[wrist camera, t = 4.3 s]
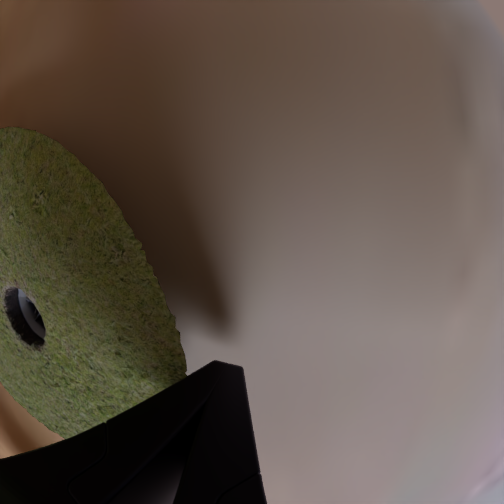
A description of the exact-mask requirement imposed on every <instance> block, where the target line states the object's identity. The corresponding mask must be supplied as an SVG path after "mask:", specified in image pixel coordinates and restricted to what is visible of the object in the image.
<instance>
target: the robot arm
mask: <svg viewBox="0 0 504 504" xmlns="http://www.w3.org/2000/svg"><path fill="white" fill-rule="evenodd" d="M0 504H267V501H266V496H265V492H264V487H263V482H262V476H261V474H260V466H259V461H258V455H257V449H256V443H255V437H254V431H253V425H252V419H251V413H250V407H249V401H248V395H247V389H246V382H245V376H244V369H243V367H241V366H238V365H233V364H229V363H225V362H221V361H217V360H214V361H212V362H210V363H208V364H207V365H205V366H203V367H202V368H200V369H198V370H197V371H195V372H193V373H192V374H190V375H188V376H187V377H185V378H183V379H181V380H180V381H178V382H176V383H175V384H173V385H171V386H169V387H168V388H166V389H164V390H162V391H160V392H159V393H157V394H155V395H153V396H151V397H150V398H148V399H146V400H144V401H142V402H141V403H139V404H137V405H135V406H133V407H131V408H129V409H127V410H126V411H124V412H122V413H120V414H118V415H116V416H114V417H112V418H110V419H108V420H107V421H106V423H105V422H102V423H100V424H98V425H96V426H94V427H92V428H90V429H88V430H86V431H84V432H81V433H79V434H77V435H75V436H72V437H70V438H67V439H65V440H62V441H59V442H56V443H54V444H51V445H48V446H45V447H41V448H38V449H35V450H32V451H28V452H25V453H21V454H18V455H14V456H10V457H7V458H2V459H0Z"/></svg>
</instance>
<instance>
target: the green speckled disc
mask: <svg viewBox="0 0 504 504" xmlns="http://www.w3.org/2000/svg"><path fill="white" fill-rule="evenodd" d="M141 247H142V243H141V242H140V241H138V240H137V239H136V238H135V237H134V233H133V231H132V229H131V227H130V226H129V225H128V223H127V222H126V221H125V219H124V217H123V214H122V211H121V210H120V208H119V207H118V205H117V204H116V202H115V201H114V199H113V198H112V197H110V196H109V194H108V193H107V191H106V189H105V187H104V185H103V183H102V182H101V181H100V180H98V179H97V178H96V177H95V175H94V174H93V173H91V172H90V171H89V170H88V168H87V167H86V166H84V165H83V164H81V163H80V161H79V160H78V159H77V158H76V156H75V155H74V154H72V153H71V152H69V151H67V150H66V149H65V148H64V147H63V146H62V145H61V144H60V143H59V142H57V141H55V140H54V139H52V138H49V137H47V136H45V135H43V134H41V133H37V132H36V130H29V129H23V128H20V127H5V129H4V128H2V129H0V382H1V383H2V384H3V386H4V388H5V389H6V390H7V391H8V392H9V394H10V395H11V396H13V398H14V400H16V401H17V402H18V403H19V404H20V405H21V406H23V407H24V408H26V409H27V411H28V412H29V413H30V414H31V415H32V416H33V417H35V418H36V419H37V420H38V421H39V422H41V423H43V424H44V425H45V426H46V427H47V428H48V429H49V430H51V431H53V432H55V433H58V434H59V435H60V436H61V437H63V438H65V439H67V438H70V437H72V436H75V435H77V434H79V433H81V432H84V431H86V430H88V429H90V428H92V427H94V426H96V425H98V424H100V423H102V422H105V423H106V421H107V420H108V419H110V418H112V417H114V416H116V415H118V414H120V413H122V412H124V411H126V410H127V409H129V408H131V407H133V406H135V405H137V404H139V403H141V402H142V401H144V400H146V399H148V398H150V397H151V396H153V395H155V394H157V393H159V392H160V391H162V390H164V389H166V388H168V387H169V386H171V385H173V384H175V383H176V382H178V381H180V380H181V379H183V378H185V377H187V375H186V374H185V372H186V371H187V366H186V359H185V354H184V351H183V348H182V346H181V343H180V332H179V331H178V330H177V329H176V328H175V320H176V317H174V316H173V315H172V314H171V313H170V311H169V309H168V307H167V305H166V299H165V295H164V293H163V291H162V289H161V287H160V285H159V282H158V279H157V277H155V276H153V267H152V266H151V265H150V264H149V263H148V262H147V261H146V256H145V251H143V250H141Z"/></svg>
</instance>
